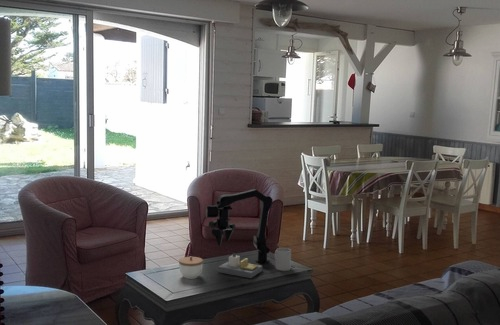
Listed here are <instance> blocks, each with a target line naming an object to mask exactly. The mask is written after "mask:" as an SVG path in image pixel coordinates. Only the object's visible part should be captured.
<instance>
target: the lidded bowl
mask: <svg viewBox="0 0 500 325" xmlns="http://www.w3.org/2000/svg"><path fill="white" fill-rule="evenodd" d="M203 261H204V259H203V258H201V257H197V256H191V255H190V256H185V257H181V258H179V260H178V263H179V265H178V266H179V267H178V268H179V273H180V274H181V275H182V276H183V277H184V278H183V279H188V280H192V279H193V280H194V279H197V278H198V277H199V275H200V274H201V273H202V270H203V263H204V262H203Z"/></svg>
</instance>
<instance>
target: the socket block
mask: <svg viewBox="0 0 500 325" xmlns="http://www.w3.org/2000/svg"><path fill="white" fill-rule="evenodd" d="M257 265H258V267H257V268H255V269H254V270H248V269H242V268H240V266H238V267H231V266H229V260H228V261H226V262H225V263H223V264H220V265H219V266H218V270H217V271H218V273H222V274H227V275H232V276H237V277H241V278H243V277H244V278H249V279H252V278H254V277H255V276H257V275H258V274H260V273H261V272H262V271H263V265H260V264H257Z"/></svg>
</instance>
